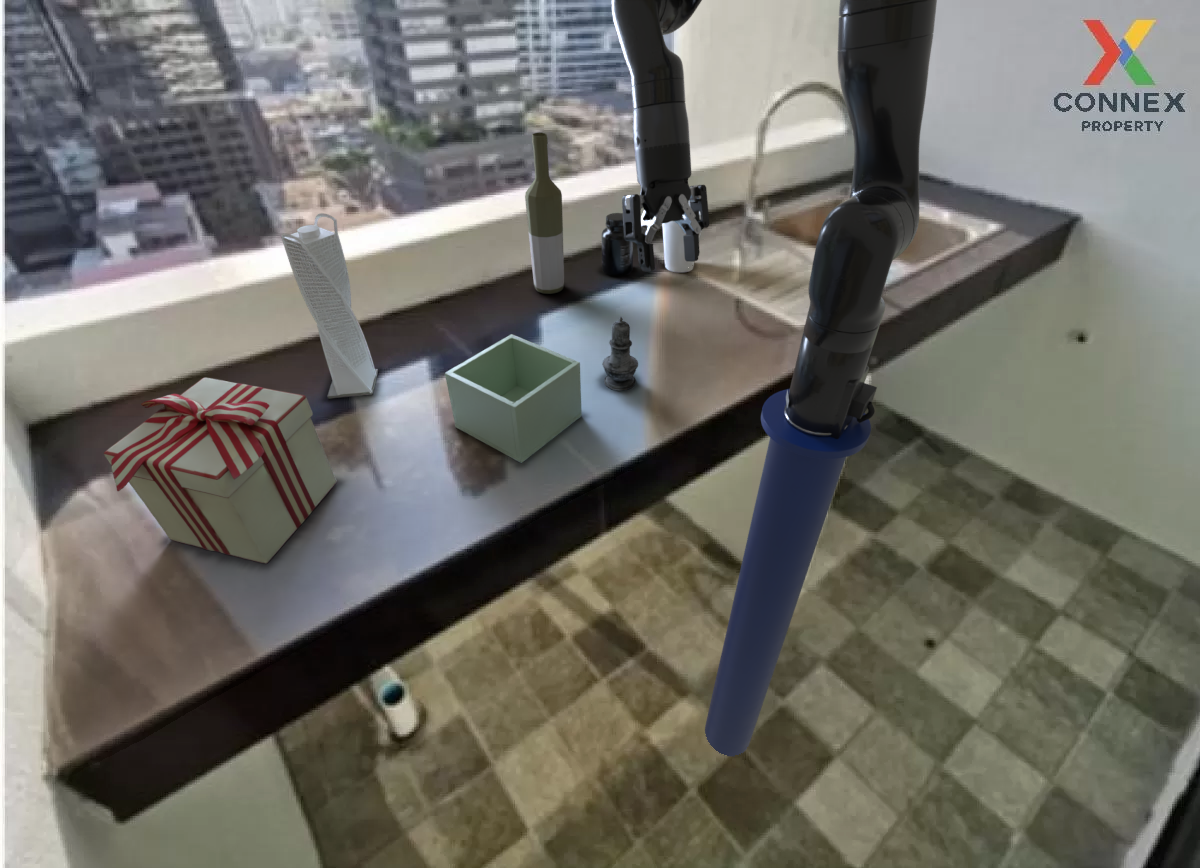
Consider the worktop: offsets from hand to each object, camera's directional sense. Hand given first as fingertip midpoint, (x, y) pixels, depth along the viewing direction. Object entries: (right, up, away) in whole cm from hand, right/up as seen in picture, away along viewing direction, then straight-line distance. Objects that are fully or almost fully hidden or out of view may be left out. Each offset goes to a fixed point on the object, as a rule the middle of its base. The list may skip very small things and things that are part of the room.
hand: (670, 265), depth 88 cm
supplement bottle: (-7, +12, +46) cm, 48 cm away
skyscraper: (-50, -17, +12) cm, 54 cm away
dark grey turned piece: (-7, -16, +12) cm, 21 cm away
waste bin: (-23, -23, +4) cm, 32 cm away
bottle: (-21, +6, +39) cm, 45 cm away
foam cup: (+7, +13, +47) cm, 50 cm away
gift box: (-54, -36, -11) cm, 66 cm away
